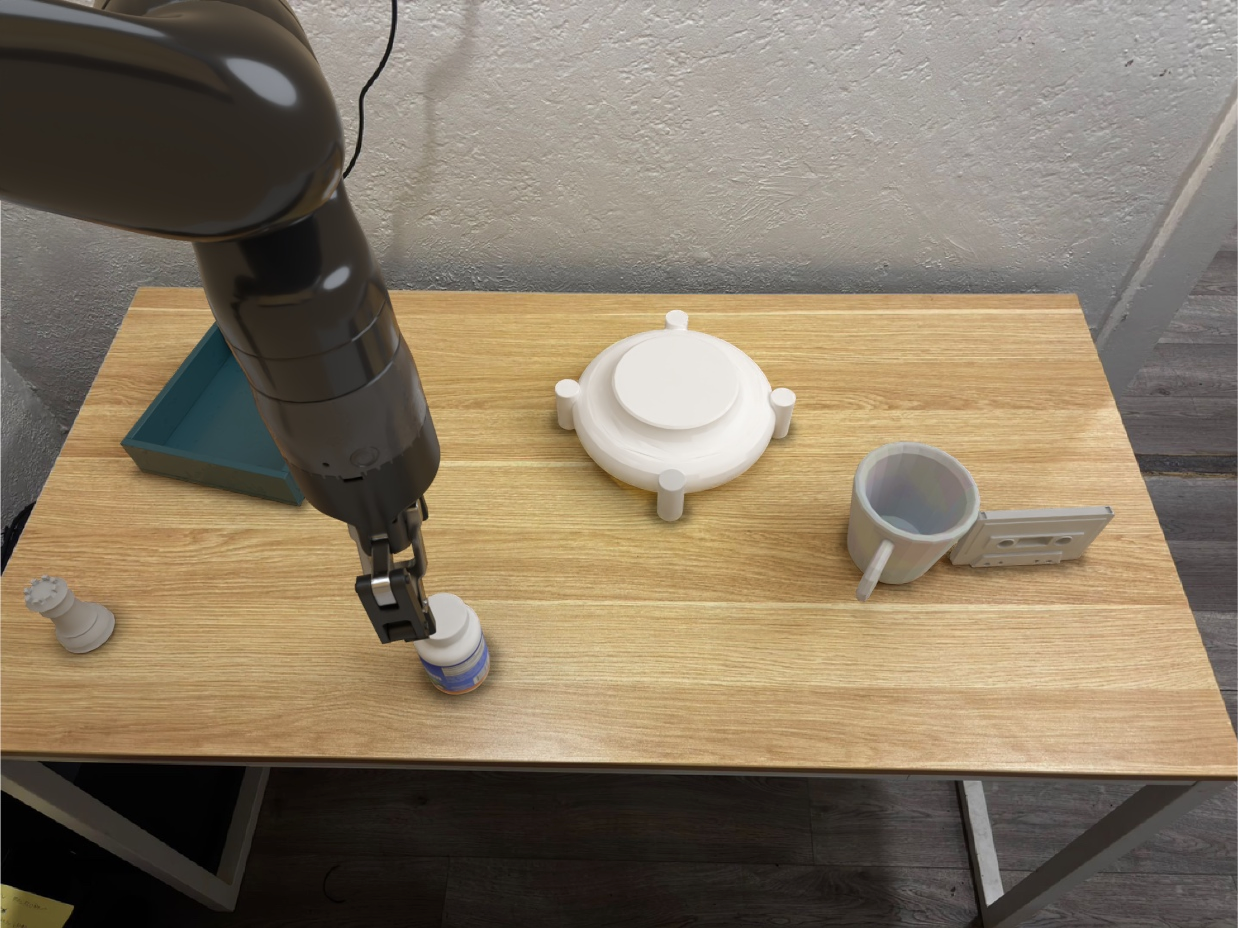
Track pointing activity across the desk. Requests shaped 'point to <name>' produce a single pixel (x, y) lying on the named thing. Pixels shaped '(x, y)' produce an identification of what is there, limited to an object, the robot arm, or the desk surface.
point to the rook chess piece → (70, 614)
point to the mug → (907, 512)
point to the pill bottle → (454, 646)
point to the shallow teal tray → (211, 429)
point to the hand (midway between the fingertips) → (416, 573)
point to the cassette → (1030, 536)
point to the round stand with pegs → (674, 411)
